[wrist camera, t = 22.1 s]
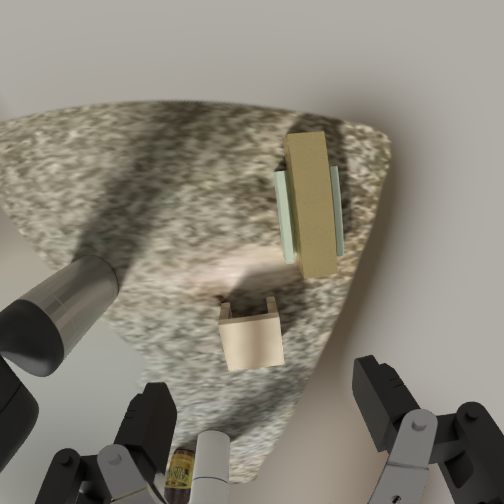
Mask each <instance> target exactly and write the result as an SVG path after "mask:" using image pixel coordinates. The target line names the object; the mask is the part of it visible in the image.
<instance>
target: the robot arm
mask: <svg viewBox="0 0 504 504" xmlns="http://www.w3.org/2000/svg"><path fill="white" fill-rule="evenodd" d="M117 293H118V283H117V278H116V276H115V273H114V272H113V270H112V268H111V267H110V266H109V265H108V264H107V263H106V262H105V261H104V260H103V259H101V258H99V257H97V256H93V255H86V256H83V257H81V258H79V259H77V260H76V261H74V262H73V263H71V264H69V265H68V266H66V267H64V268H63V269H61V270H60V271H58V272H57V273H55V274H54V275H52V276H50V277H49V278H47V279H46V280H45V281H43V282H42V283H40V284H38V285H37V286H36V287H34V288H33V289H31V290H30V291H28V292H27V293H26V294H24V295H23V296H21V297H20V298H19V299H17V300H16V301H14V302H13V303H11V304H10V305H9V306H7V307H6V308H5V309H4V310H2V311H1V312H0V472H2V470H3V469H4V468H5V466H6V465H7V464H8V462H9V461H10V460H11V458H12V457H13V456H14V455H15V453H16V452H17V451H18V449H19V448H20V447H21V445H22V444H23V443H24V441H25V440H26V439H27V437H28V435H29V434H30V433H31V431H32V429H33V427H34V425H35V423H36V421H37V418H38V414H39V407H38V403H37V401H36V400H35V398H34V397H33V396H32V394H31V393H30V392H29V391H28V389H27V388H26V387H25V386H24V384H23V383H22V382H21V381H20V380H19V378H18V377H17V376H16V374H15V373H14V372H13V371H12V369H11V368H10V367H9V365H8V364H7V363H6V361H5V360H4V359H3V357H5V358H7V359H9V360H10V361H12V362H13V363H14V364H16V365H17V366H19V367H20V368H22V369H23V370H24V371H26V372H28V373H30V374H32V375H35V376H39V377H46V376H49V375H50V374H52V373H53V372H54V371H55V370H56V369H57V368H58V367H59V365H60V364H61V363H62V362H63V360H64V359H65V358H66V357H67V355H68V354H69V353H70V352H71V350H72V349H73V348H74V347H75V346H76V344H77V343H78V342H79V341H80V340H81V338H82V337H83V336H84V335H85V334H86V332H87V331H88V330H89V329H90V328H91V326H92V325H93V324H94V323H95V322H96V321H97V320H98V319H99V317H100V316H101V315H102V314H103V313H104V312H105V311H106V310H107V308H108V307H109V306H110V305H111V304H112V303H113V301H114V300H115V298H116V296H117ZM2 356H3V357H2ZM352 390H353V395H354V397H355V400H356V402H357V405H358V407H359V409H360V411H361V414H362V416H363V418H364V420H365V423H366V425H367V427H368V429H369V432H370V434H371V437H372V439H373V441H374V444H375V446H376V448H377V451H378V452H382V451H384V450H387V452H388V454H389V457H388V459H387V462H386V464H385V466H384V469H383V471H382V473H381V476H380V478H379V480H378V482H377V485H376V487H375V489H374V491H373V493H372V495H371V497H370V499H369V501H368V503H367V504H418V503H419V501H420V498H421V495H422V492H423V489H424V486H425V483H426V480H427V477H428V473H429V469H427V466H428V464H434V463H438V465H439V467H440V470H441V472H442V474H443V476H444V479H445V481H446V483H447V486H448V488H449V490H450V493H451V495H452V498H453V500H454V503H455V504H504V435H503V434H502V432H501V430H500V429H499V427H498V426H497V424H496V423H495V422H494V420H493V419H492V417H491V416H490V414H489V413H488V412H487V410H486V409H485V408H484V406H482V405H481V404H480V403H477V402H467V403H464V404H462V405H461V406H460V407H459V408H458V410H457V412H456V413H453V414H447V415H440V416H435V415H434V414H433V413H432V412H430V411H428V410H425V409H421V408H420V407H419V405H418V404H417V402H416V401H415V399H414V398H413V396H412V395H411V393H410V392H409V390H408V389H407V387H406V386H405V385H404V383H403V381H402V380H401V379H400V378H399V375H398V374H397V372H396V371H395V369H394V368H392V367H390V366H389V365H387V364H386V363H383V364H380V365H379V364H378V362H377V361H376V359H375V357H374V356H373V355H369V356H365V357H361V358H357V359H355V360H354V369H353V380H352ZM176 420H177V409H176V406H175V403H174V401H173V399H172V397H171V394H170V392H169V390H168V387H167V385H166V384H165V383H164V382H157V383H147V384H146V386H145V389H144V391H143V394H137V395H136V396H135V397H134V398H133V399H132V400H131V402H130V404H129V406H128V409H127V412H126V413H125V416H124V419H123V421H122V423H121V426H120V428H119V431H118V433H117V436H116V438H115V441H114V443H113V444H112V445H108V446H106V447H104V448H103V449H102V450H101V451H100V452H99V454H98V455H90V456H80V455H79V454H78V453H77V451H75V450H73V449H70V448H65V449H62V450H60V451H58V452H57V453H56V454H55V456H54V458H53V460H52V462H51V464H50V467H49V469H48V472H47V474H46V477H45V479H44V481H43V484H42V486H41V489H40V491H39V494H38V497H37V499H36V502H35V504H75V503H76V504H110V503H111V504H168V502H167V501H166V499H165V498H164V496H163V495H162V493H161V492H160V490H159V489H158V487H157V486H156V484H155V483H154V478H155V475H156V476H165V471H166V466H167V461H168V457H169V452H170V447H171V443H172V438H173V434H174V429H175V425H176ZM78 493H79V494H78ZM77 496H78V498H77ZM111 499H113V500H112V501H111ZM76 500H77V501H76Z"/></svg>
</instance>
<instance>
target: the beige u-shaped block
mask: <svg viewBox="0 0 504 504" xmlns="http://www.w3.org/2000/svg"><path fill="white" fill-rule="evenodd" d="M266 302H267V309H268V314H262V315H255V316H247V317H239V318H233V317H232V312H231V306H230V302H226V303H221V310H220V316H219V323H218V327H219V331H220V335H221V340H222V344H223V348H224V353H225V357H226V361H227V365H228V369H229V371H235V370H244V369H253V368H261V367H269V366H276V365H282V364H284V357H283V347H282V338H281V328H280V319H279V314H278V310H277V306H276V301H275V297H274V296H271V297H266Z"/></svg>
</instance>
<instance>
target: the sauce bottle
mask: <svg viewBox="0 0 504 504" xmlns="http://www.w3.org/2000/svg"><path fill="white" fill-rule="evenodd" d="M194 462H195V454H194V453H193V452H190V451H187V450H177V451H175V452H174V454H173V456H172V458H171V462H170V466H169V471H168V475H167V479H166V483H165V491H164V497H165V499H166V501H167V502H168V504H187V503H188V502H189V500H190V494H191V486H192V478H193V470H194Z"/></svg>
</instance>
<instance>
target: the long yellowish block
mask: <svg viewBox="0 0 504 504" xmlns="http://www.w3.org/2000/svg"><path fill="white" fill-rule="evenodd" d="M282 140H283V146H284V153H285V161H286V168H287V175H288V183H289V191H290V199H291V208H292V216H293V225H294V234H295V244H296V254H297V264H298V269H299V270H300V272H301V274H302V276H303V278H304V279H306V278H312V277H318V276H324V275H330V274H336V273H337V253H336V237H335V223H334V210H333V199H332V189H331V180H330V171H329V163H328V155H327V148H326V140H325V134H324V131H320V132H306V133H293V134H287V135H286V136H285V137H283V138H282Z"/></svg>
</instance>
